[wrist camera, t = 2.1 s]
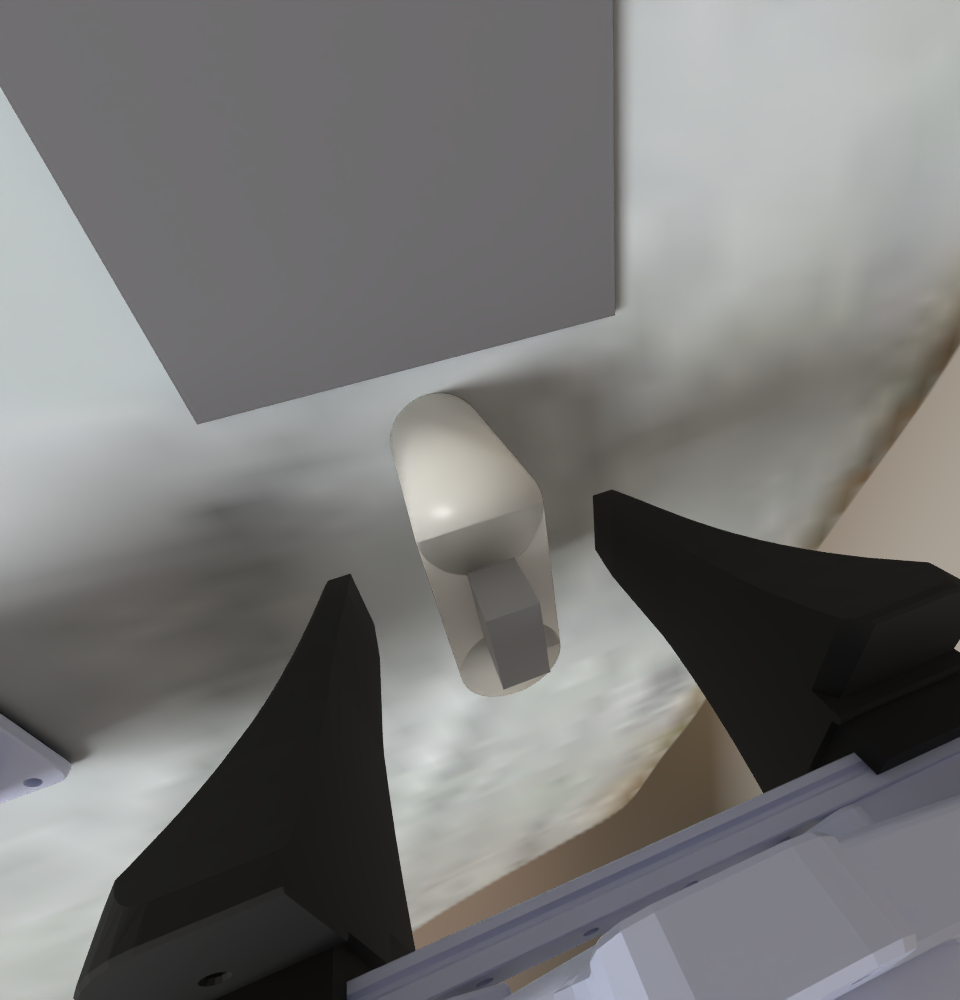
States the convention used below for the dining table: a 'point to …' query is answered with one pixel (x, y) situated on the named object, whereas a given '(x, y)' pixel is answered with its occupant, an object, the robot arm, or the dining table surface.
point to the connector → (479, 543)
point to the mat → (327, 176)
